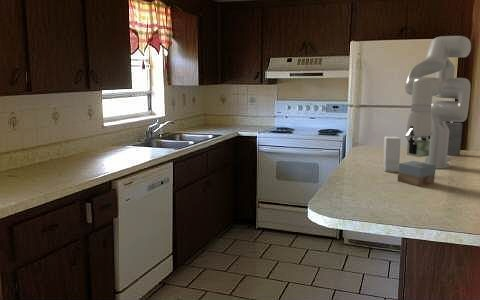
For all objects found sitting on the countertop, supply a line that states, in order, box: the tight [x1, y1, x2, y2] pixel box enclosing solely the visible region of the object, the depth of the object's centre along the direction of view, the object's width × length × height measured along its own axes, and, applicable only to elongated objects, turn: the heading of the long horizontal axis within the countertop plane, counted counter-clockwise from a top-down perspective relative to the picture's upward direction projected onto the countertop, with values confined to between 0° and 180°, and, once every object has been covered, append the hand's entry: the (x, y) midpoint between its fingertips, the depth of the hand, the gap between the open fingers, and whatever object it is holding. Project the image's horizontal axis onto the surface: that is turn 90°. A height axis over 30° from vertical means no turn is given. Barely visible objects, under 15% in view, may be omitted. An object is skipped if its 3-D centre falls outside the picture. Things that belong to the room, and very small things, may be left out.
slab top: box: [398, 160, 436, 178], centre depth 186 cm, size 10×10×4 cm
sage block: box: [406, 139, 430, 158], centre depth 184 cm, size 6×6×6 cm
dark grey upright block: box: [444, 121, 463, 157], centre depth 248 cm, size 15×6×20 cm, turn 64°
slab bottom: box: [397, 172, 435, 187], centre depth 186 cm, size 10×10×4 cm
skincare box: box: [382, 135, 401, 173], centre depth 208 cm, size 8×7×16 cm
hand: (417, 152), depth 185 cm, fingers closed on sage block, 6 cm apart
